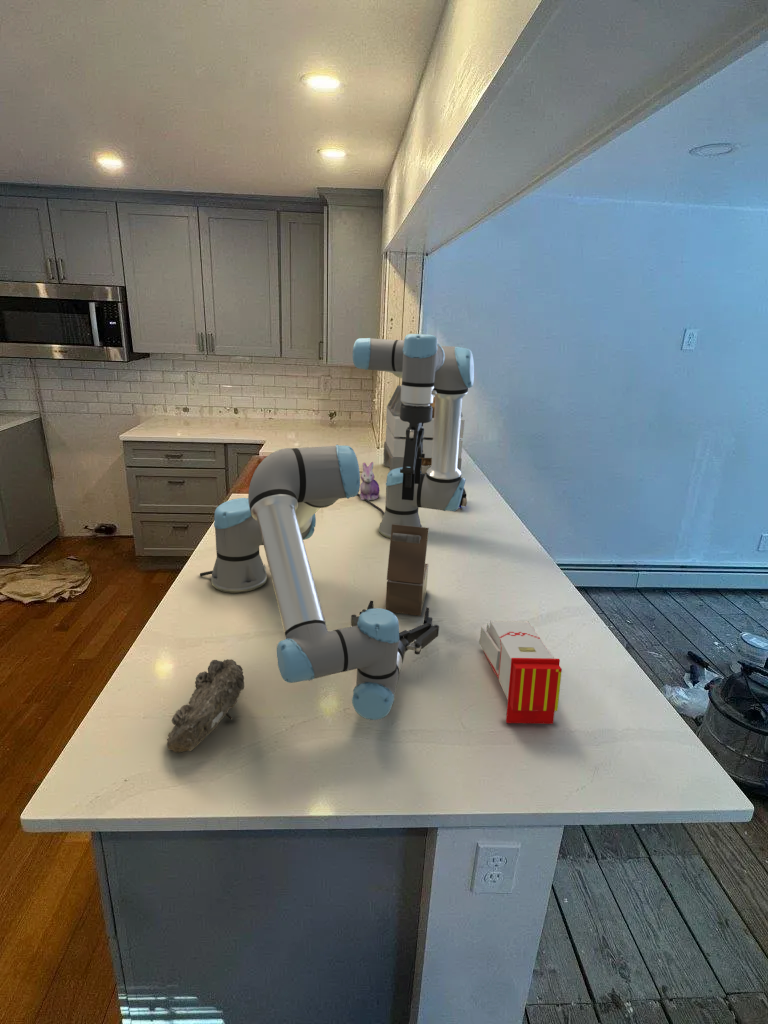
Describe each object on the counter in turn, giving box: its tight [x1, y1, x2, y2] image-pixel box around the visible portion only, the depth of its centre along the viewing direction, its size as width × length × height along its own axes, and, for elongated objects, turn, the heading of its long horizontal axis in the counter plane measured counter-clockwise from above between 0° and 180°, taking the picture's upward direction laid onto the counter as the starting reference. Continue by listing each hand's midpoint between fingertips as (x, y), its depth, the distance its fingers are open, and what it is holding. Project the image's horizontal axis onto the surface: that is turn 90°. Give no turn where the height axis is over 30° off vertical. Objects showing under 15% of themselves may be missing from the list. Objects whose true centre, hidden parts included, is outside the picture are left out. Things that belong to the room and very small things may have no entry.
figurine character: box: [458, 488, 468, 511], centre depth 230 cm, size 7×8×15 cm
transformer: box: [383, 384, 465, 472], centre depth 268 cm, size 34×33×41 cm
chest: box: [385, 563, 429, 617], centre depth 153 cm, size 14×9×9 cm
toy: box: [478, 620, 563, 725], centre depth 121 cm, size 12×13×30 cm
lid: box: [386, 524, 430, 584], centre depth 141 cm, size 14×9×9 cm
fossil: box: [166, 658, 245, 754], centre depth 106 cm, size 22×10×15 cm
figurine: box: [359, 461, 381, 501], centre depth 233 cm, size 9×10×15 cm
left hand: (399, 608), depth 137 cm, fingers open, 13 cm apart
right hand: (411, 491), depth 139 cm, fingers open, 13 cm apart
